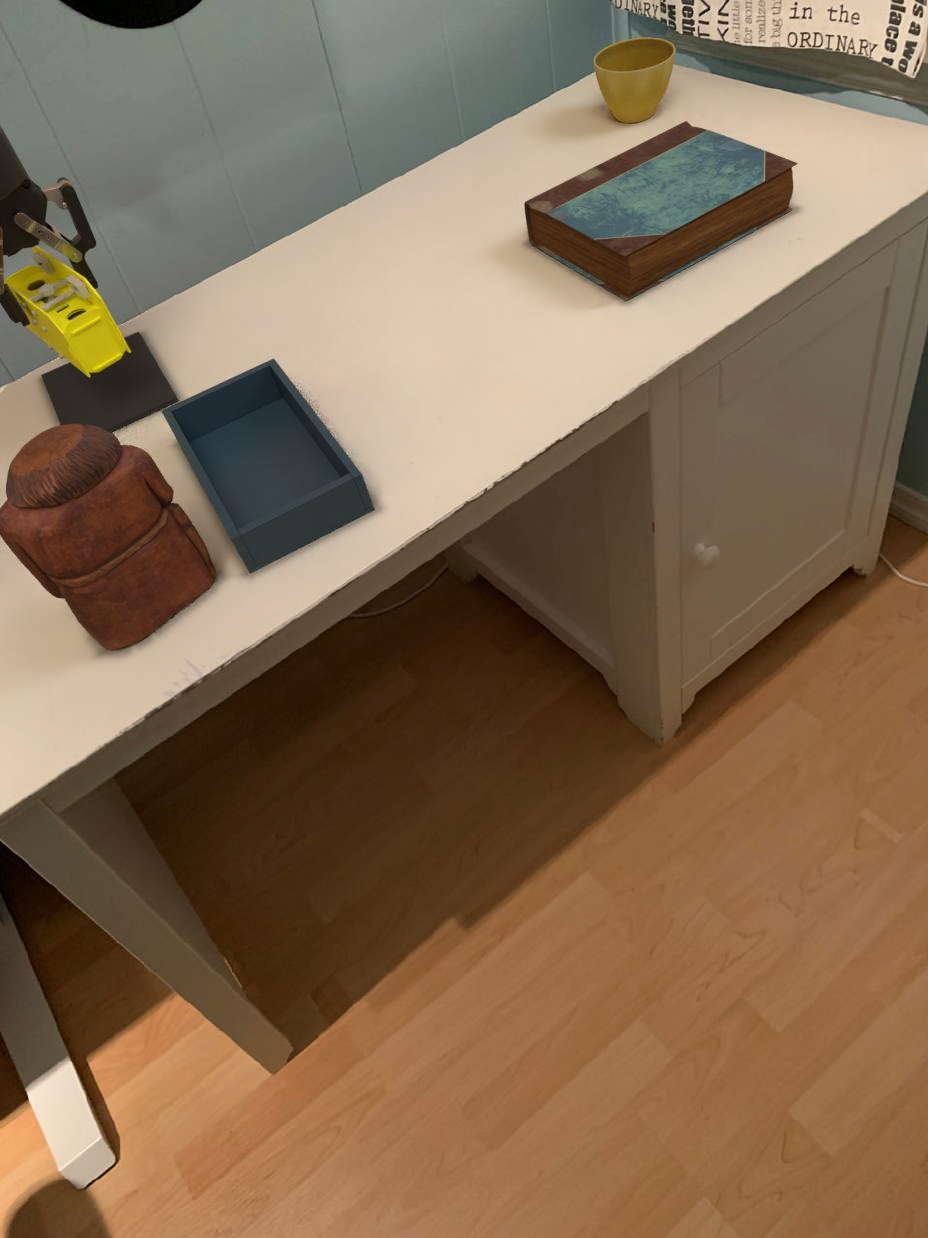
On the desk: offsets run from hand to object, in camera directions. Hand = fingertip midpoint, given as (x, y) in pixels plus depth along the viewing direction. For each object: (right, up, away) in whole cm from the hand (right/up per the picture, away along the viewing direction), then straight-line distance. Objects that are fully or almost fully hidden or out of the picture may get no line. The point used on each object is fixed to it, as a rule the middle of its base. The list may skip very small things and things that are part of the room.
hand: (58, 307), depth 88 cm
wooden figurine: (+15, -30, -14) cm, 37 cm away
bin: (+23, -18, -6) cm, 30 cm away
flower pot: (+63, +35, +27) cm, 77 cm away
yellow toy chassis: (+1, -3, +4) cm, 5 cm away
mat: (+2, -6, +8) cm, 10 cm away
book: (+62, +12, +9) cm, 64 cm away
